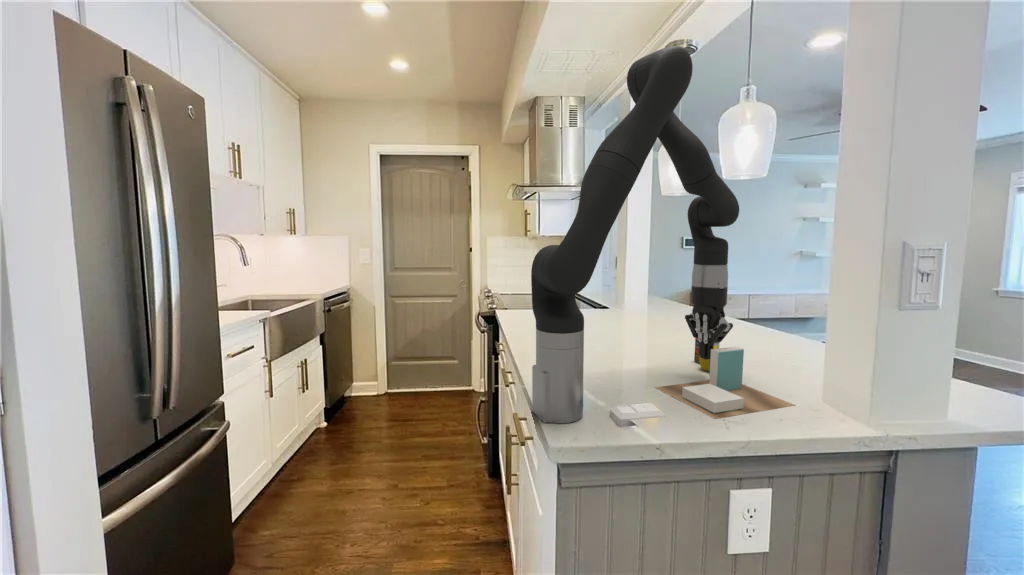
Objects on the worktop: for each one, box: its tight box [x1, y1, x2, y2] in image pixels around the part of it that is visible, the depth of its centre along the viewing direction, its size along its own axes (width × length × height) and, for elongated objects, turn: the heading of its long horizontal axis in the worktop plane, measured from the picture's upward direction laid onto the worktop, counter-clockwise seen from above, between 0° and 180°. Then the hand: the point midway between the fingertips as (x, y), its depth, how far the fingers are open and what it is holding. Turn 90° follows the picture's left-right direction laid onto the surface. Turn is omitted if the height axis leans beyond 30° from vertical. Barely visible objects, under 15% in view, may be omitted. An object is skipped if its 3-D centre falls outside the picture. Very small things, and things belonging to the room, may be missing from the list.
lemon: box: [699, 345, 720, 373], centre depth 110 cm, size 6×6×8 cm
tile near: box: [682, 384, 744, 414], centre depth 88 cm, size 7×2×9 cm
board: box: [654, 379, 796, 420], centre depth 93 cm, size 20×18×1 cm
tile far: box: [708, 346, 745, 391], centre depth 96 cm, size 7×2×9 cm, turn 108°
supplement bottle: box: [693, 327, 721, 365], centre depth 117 cm, size 6×6×11 cm
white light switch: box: [609, 402, 666, 428], centre depth 84 cm, size 5×9×3 cm, turn 101°
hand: (705, 358), depth 102 cm, fingers closed
